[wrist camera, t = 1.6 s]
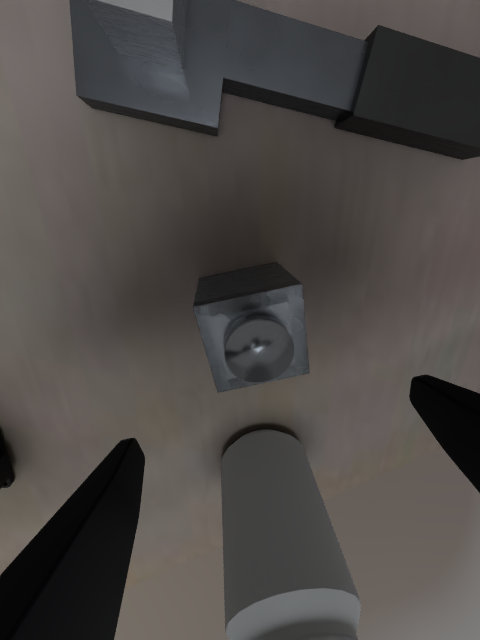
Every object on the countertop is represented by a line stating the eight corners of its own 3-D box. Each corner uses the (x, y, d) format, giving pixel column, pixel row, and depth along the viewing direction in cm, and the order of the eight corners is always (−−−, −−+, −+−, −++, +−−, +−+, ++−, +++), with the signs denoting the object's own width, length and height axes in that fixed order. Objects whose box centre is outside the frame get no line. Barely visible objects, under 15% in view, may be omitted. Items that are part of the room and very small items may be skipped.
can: (204, 464, 23) (196, 699, 12) (253, 409, 21) (297, 635, 10) (268, 487, 25) (309, 702, 14) (317, 441, 23) (411, 652, 12)
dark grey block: (216, 345, 18) (217, 406, 12) (199, 278, 16) (191, 315, 10) (285, 330, 18) (316, 385, 12) (276, 262, 16) (310, 290, 10)
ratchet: (92, 108, 12) (28, 55, 8) (81, -86, 10) (-17, -305, 5) (449, 188, 15) (538, 181, 11) (507, 56, 13) (648, -16, 9)
